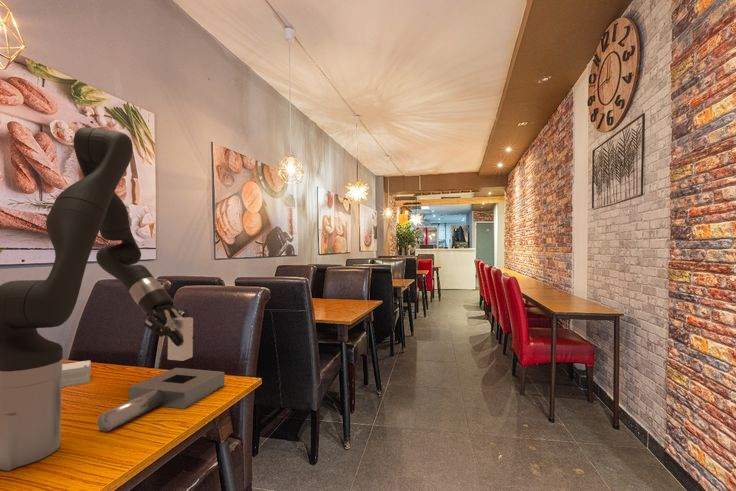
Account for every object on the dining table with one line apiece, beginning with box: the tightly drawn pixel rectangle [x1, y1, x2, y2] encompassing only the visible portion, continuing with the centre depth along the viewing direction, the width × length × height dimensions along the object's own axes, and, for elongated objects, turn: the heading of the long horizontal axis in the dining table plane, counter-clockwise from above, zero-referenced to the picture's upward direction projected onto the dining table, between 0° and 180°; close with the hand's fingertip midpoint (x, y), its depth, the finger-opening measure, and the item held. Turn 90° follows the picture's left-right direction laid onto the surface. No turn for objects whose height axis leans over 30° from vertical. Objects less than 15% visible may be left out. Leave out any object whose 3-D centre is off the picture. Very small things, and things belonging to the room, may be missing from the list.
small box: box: [62, 360, 92, 388], centre depth 103 cm, size 8×8×5 cm
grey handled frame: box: [97, 367, 226, 433], centre depth 87 cm, size 29×17×4 cm, turn 167°
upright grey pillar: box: [167, 317, 194, 362], centre depth 94 cm, size 4×5×11 cm
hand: (186, 341), depth 93 cm, fingers closed on upright grey pillar, 3 cm apart
